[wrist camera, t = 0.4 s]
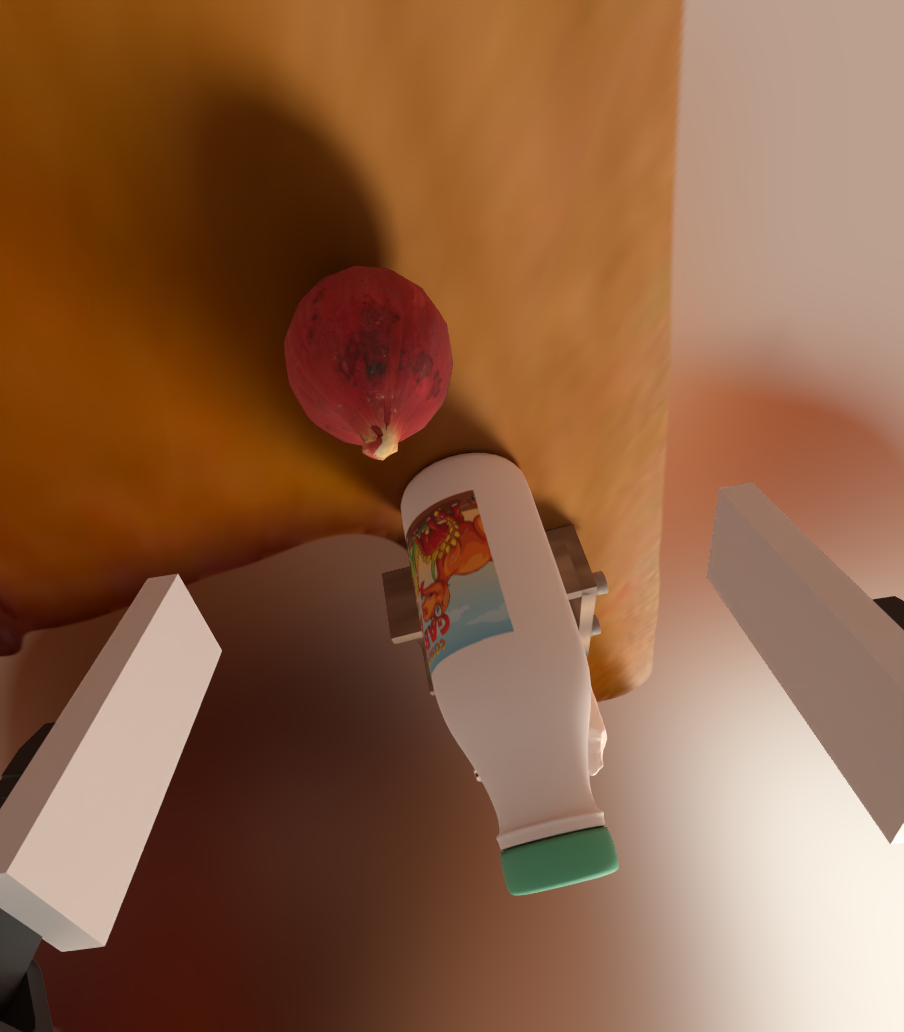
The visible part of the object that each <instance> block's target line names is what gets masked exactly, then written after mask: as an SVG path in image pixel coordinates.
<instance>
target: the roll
mask: <svg viewBox="0 0 904 1032" xmlns="http://www.w3.org/2000/svg"><path fill="white" fill-rule="evenodd" d="M606 740H607V735H606V731H605V727H604V724H603V720H602V717H601V714H600V711H599V708H598V705H597V701H596V699H595V696H594V694H593V691H592V688H591V710H590V721H589V733H588V770H589V774H590V775H595V774H596V773H598V771H599V770H600V769H601V768H602V767H603V762H602V755H603V748H604V747H605V743H606Z"/></svg>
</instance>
